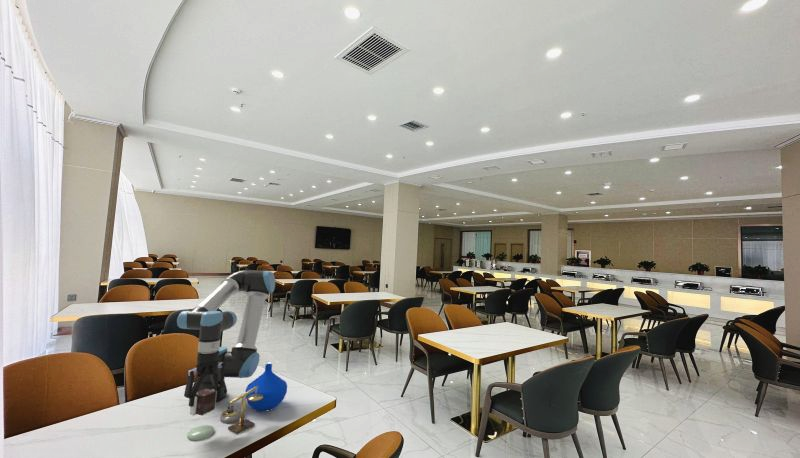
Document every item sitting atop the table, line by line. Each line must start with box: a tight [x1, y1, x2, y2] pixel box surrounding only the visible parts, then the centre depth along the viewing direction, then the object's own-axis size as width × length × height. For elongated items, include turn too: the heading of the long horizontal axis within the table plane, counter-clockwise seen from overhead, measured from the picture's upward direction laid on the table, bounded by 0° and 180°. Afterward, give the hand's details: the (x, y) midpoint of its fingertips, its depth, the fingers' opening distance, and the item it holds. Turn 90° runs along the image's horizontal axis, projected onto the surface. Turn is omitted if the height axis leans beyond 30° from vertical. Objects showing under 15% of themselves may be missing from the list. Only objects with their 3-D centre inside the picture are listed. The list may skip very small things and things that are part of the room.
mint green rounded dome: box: [186, 424, 215, 441], centre depth 127 cm, size 9×9×1 cm
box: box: [195, 388, 216, 416], centre depth 127 cm, size 6×6×7 cm
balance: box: [221, 386, 263, 435], centre depth 133 cm, size 6×17×15 cm, turn 148°
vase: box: [244, 363, 288, 412], centre depth 152 cm, size 18×18×19 cm
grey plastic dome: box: [219, 410, 241, 425], centre depth 139 cm, size 9×9×1 cm
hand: (202, 410), depth 127 cm, fingers closed on box, 7 cm apart
